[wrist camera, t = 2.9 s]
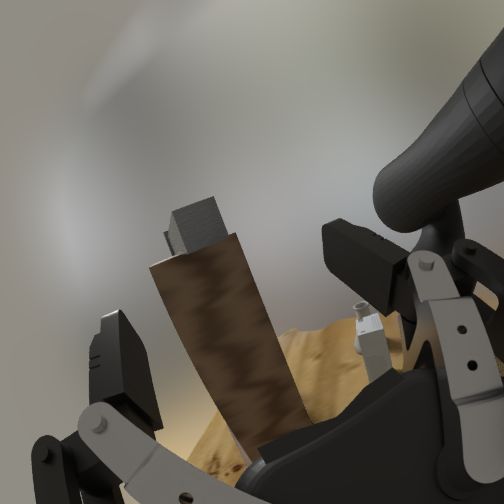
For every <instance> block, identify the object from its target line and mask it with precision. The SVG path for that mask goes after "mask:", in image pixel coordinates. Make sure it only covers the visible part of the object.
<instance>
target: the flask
mask: <svg viewBox="0 0 504 504" xmlns="http://www.w3.org/2000/svg"><path fill="white" fill-rule="evenodd" d="M353 308H354V309H355V310H356V314H357V319H360V318H363V317H367V316H370V315H371V314H370V311H369V303H368V302H367V301H362V302H359V303H357V304H356V305H354V306H353ZM386 341H387V342H388V340H387V339H386ZM354 348H355V350H356V351H357V353H359V354H362V351H361V348H360V344H359V341H358V336H357V331H356V338H355V344H354Z"/></svg>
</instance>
